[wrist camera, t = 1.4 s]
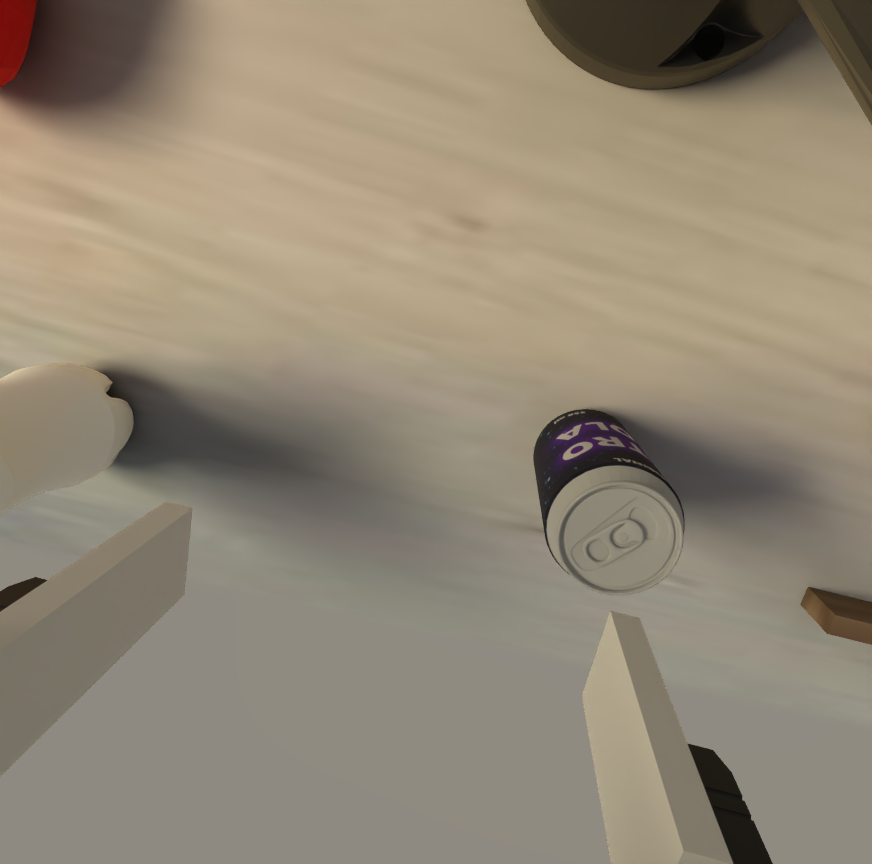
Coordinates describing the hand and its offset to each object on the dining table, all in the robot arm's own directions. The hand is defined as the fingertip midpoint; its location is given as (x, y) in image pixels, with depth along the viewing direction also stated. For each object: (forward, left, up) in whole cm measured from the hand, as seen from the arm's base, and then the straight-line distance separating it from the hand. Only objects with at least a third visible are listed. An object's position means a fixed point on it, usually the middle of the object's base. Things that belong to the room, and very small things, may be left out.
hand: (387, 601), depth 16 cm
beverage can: (-3, +7, -20) cm, 22 cm away
